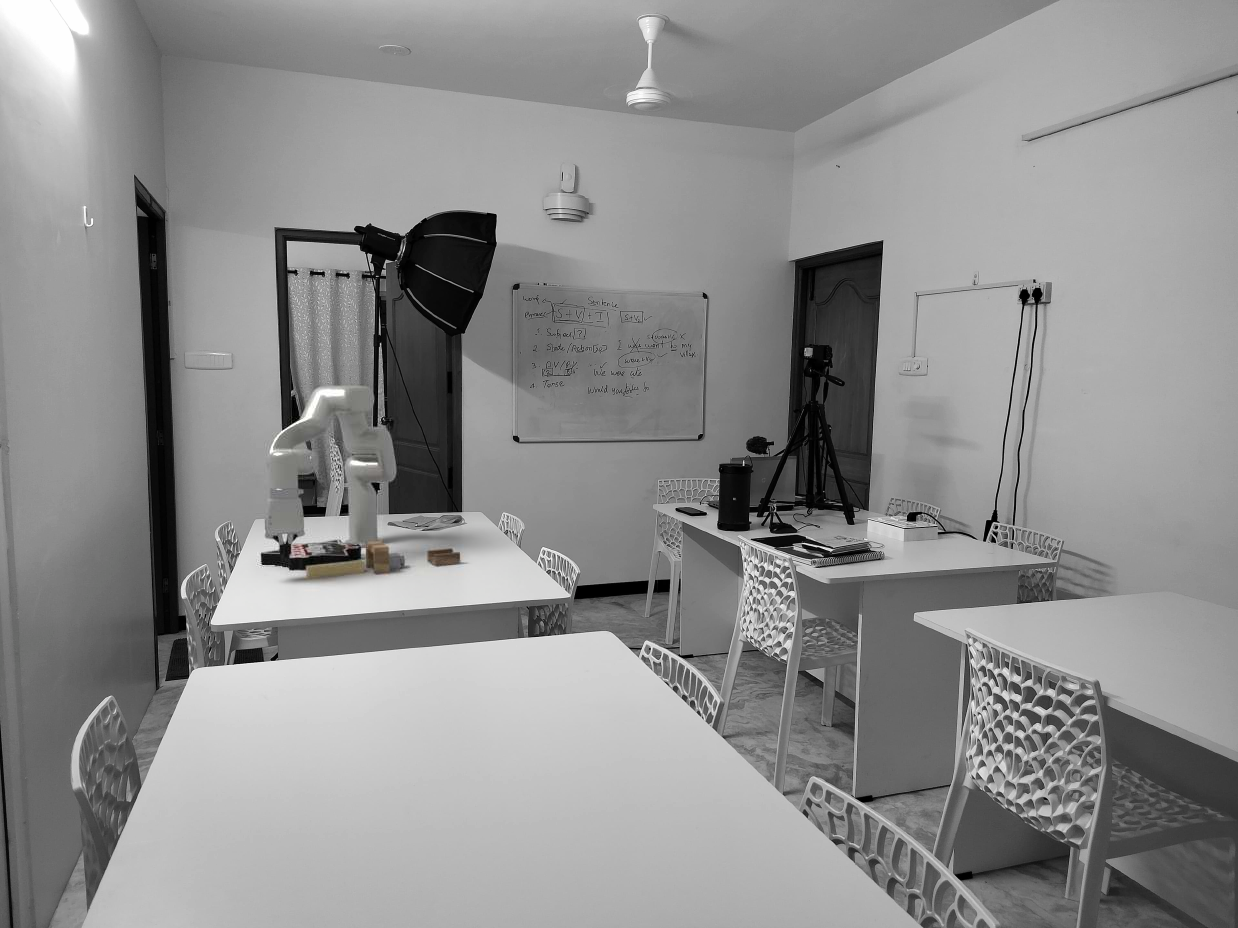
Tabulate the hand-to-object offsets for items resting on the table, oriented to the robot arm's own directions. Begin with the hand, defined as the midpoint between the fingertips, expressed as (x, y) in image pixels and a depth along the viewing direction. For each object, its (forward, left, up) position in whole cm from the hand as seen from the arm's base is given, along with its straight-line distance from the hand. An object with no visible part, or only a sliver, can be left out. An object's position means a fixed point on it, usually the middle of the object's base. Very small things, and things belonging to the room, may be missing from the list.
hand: (285, 557), depth 235 cm
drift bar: (0, +14, -7) cm, 16 cm away
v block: (0, +47, -7) cm, 48 cm away
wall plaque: (-22, +11, -7) cm, 26 cm away
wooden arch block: (0, +26, -7) cm, 27 cm away
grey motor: (0, +30, -7) cm, 31 cm away
